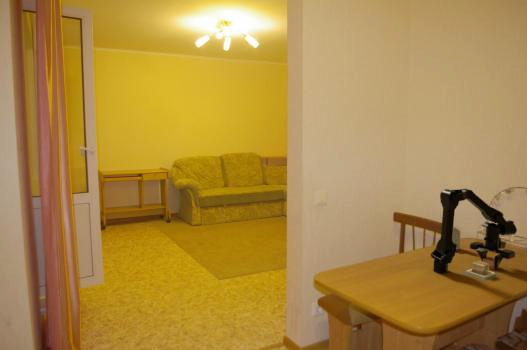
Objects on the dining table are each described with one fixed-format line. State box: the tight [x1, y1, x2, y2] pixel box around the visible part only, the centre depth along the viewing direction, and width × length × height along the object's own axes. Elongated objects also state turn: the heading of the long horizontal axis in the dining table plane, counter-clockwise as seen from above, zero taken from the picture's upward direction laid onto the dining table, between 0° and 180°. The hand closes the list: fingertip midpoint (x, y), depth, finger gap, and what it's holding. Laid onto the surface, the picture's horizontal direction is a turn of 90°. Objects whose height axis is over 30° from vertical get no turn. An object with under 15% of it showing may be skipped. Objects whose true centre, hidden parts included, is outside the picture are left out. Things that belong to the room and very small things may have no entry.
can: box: [452, 226, 462, 251], centre depth 216 cm, size 8×8×12 cm
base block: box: [471, 260, 490, 276], centre depth 178 cm, size 5×5×5 cm
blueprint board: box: [460, 267, 501, 282], centre depth 179 cm, size 12×12×2 cm
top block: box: [483, 256, 500, 271], centre depth 186 cm, size 5×5×5 cm
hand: (490, 267), depth 186 cm, fingers closed on top block, 5 cm apart
